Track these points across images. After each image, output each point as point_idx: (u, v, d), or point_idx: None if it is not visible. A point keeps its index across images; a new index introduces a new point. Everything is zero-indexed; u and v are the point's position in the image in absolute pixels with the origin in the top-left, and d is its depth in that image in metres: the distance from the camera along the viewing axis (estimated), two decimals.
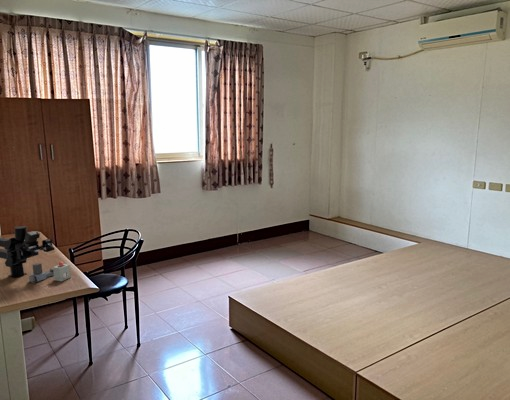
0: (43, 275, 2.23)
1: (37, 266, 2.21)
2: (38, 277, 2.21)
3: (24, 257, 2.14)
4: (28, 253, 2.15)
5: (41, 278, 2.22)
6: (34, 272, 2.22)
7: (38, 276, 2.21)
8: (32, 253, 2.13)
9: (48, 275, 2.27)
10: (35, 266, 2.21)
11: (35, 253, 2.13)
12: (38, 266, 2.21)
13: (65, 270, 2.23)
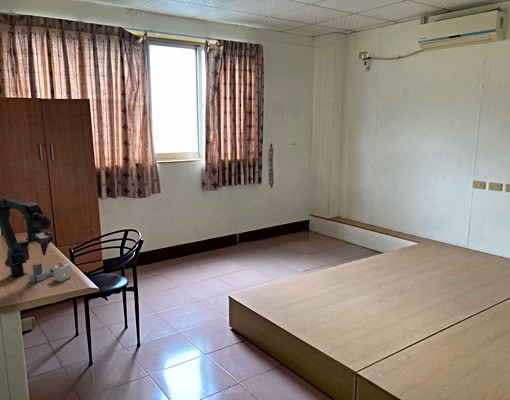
0: (43, 275, 2.23)
1: (37, 266, 2.21)
2: (38, 277, 2.21)
3: None
4: (24, 249, 2.16)
5: (41, 278, 2.22)
6: (34, 272, 2.22)
7: (38, 276, 2.21)
8: (25, 255, 2.16)
9: (48, 275, 2.27)
10: (35, 266, 2.21)
11: (26, 258, 2.17)
12: (38, 266, 2.21)
13: (65, 270, 2.23)
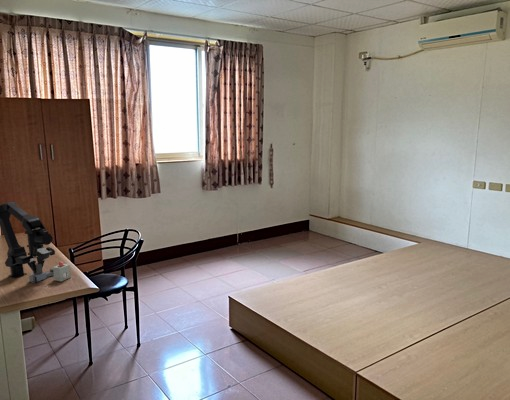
0: (43, 275, 2.23)
1: (37, 266, 2.21)
2: (38, 277, 2.21)
3: None
4: (31, 263, 2.20)
5: (41, 278, 2.22)
6: None
7: (38, 276, 2.21)
8: (32, 268, 2.20)
9: (48, 275, 2.27)
10: (35, 266, 2.21)
11: (33, 271, 2.21)
12: (38, 266, 2.21)
13: (65, 270, 2.23)
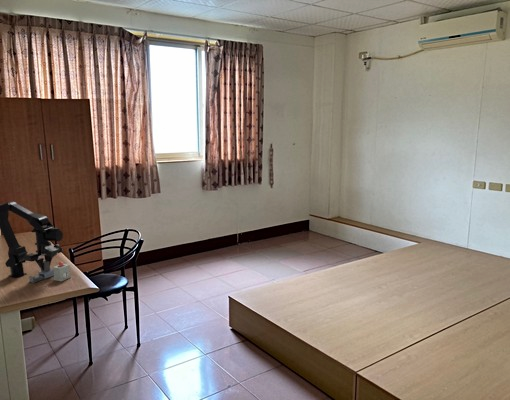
0: (51, 272, 2.27)
1: (45, 263, 2.25)
2: (46, 274, 2.24)
3: None
4: None
5: (49, 275, 2.26)
6: None
7: (46, 273, 2.24)
8: (40, 265, 2.24)
9: None
10: (43, 263, 2.25)
11: (41, 268, 2.25)
12: (46, 263, 2.25)
13: (65, 270, 2.23)
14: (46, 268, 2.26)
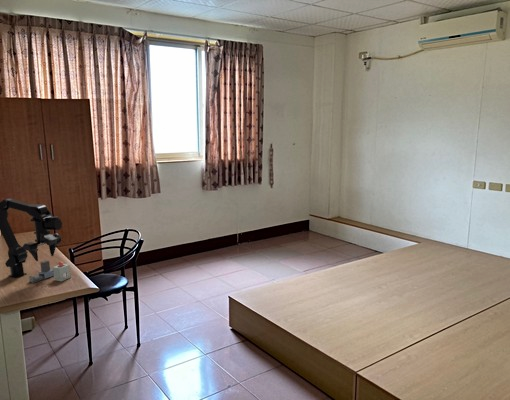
0: (51, 272, 2.27)
1: (45, 263, 2.25)
2: (46, 274, 2.25)
3: None
4: (33, 251, 2.20)
5: (49, 275, 2.26)
6: (42, 269, 2.26)
7: (46, 273, 2.25)
8: (34, 256, 2.20)
9: None
10: (43, 263, 2.25)
11: (35, 259, 2.21)
12: (46, 263, 2.25)
13: (65, 270, 2.23)
14: (46, 268, 2.26)
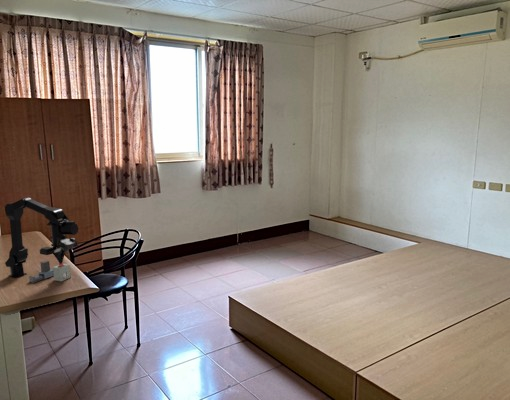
0: (51, 272, 2.27)
1: (45, 263, 2.25)
2: (46, 274, 2.25)
3: None
4: None
5: (49, 275, 2.26)
6: (42, 269, 2.26)
7: (46, 273, 2.25)
8: (58, 258, 2.21)
9: None
10: (43, 263, 2.25)
11: (59, 261, 2.22)
12: (46, 263, 2.25)
13: (65, 270, 2.23)
14: (46, 268, 2.26)
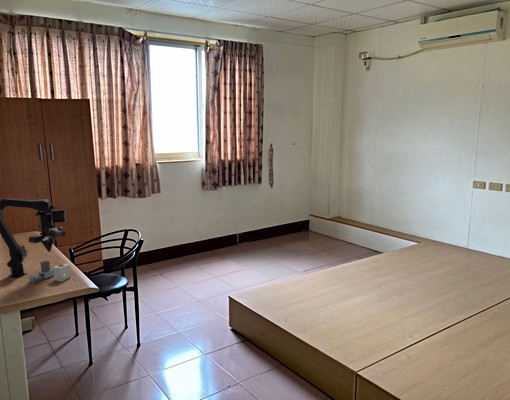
0: (51, 272, 2.27)
1: (45, 263, 2.25)
2: (46, 274, 2.25)
3: None
4: (45, 241, 2.30)
5: (49, 275, 2.26)
6: (42, 269, 2.26)
7: (46, 273, 2.25)
8: (46, 246, 2.30)
9: None
10: (43, 263, 2.25)
11: (47, 249, 2.31)
12: (46, 263, 2.25)
13: (65, 270, 2.23)
14: (46, 268, 2.26)
